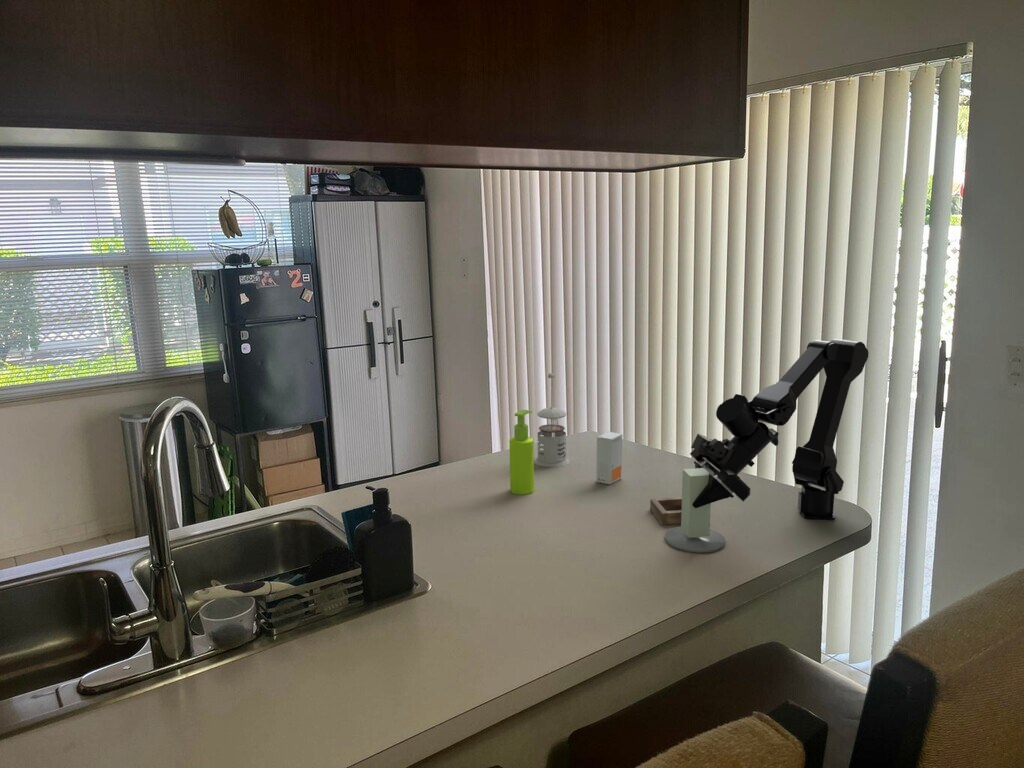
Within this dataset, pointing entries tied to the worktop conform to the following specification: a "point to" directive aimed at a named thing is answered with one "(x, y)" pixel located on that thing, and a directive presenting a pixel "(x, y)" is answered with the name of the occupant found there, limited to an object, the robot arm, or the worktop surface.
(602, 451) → the skincare box
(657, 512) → the walnut holder
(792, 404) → the robot arm
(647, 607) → the worktop surface
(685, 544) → the slate coaster
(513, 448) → the soap dispenser
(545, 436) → the french press
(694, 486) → the sage peg
